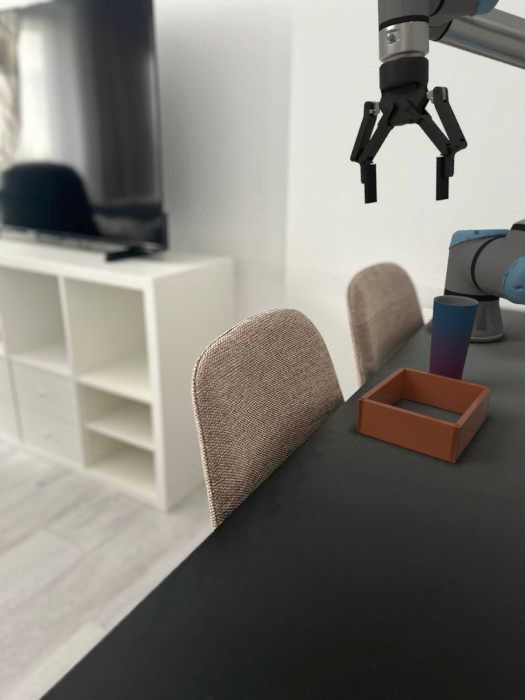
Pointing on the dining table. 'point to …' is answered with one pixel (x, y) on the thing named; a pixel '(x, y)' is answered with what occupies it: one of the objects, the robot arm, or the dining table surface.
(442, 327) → the cup
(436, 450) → the rectangular frame
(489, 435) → the dining table surface
